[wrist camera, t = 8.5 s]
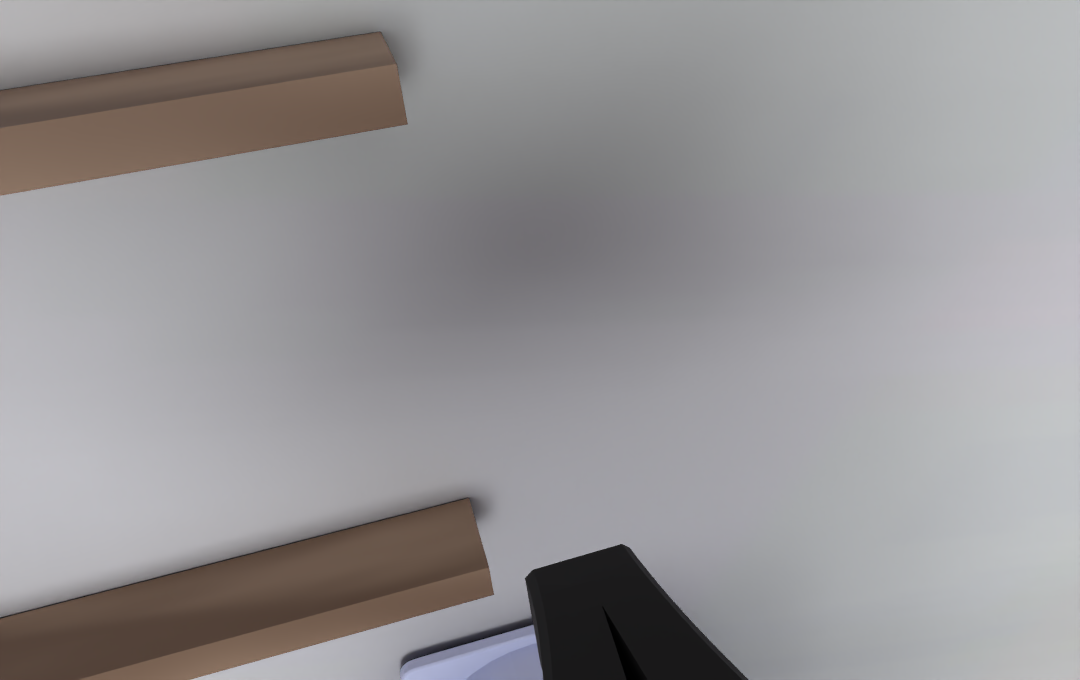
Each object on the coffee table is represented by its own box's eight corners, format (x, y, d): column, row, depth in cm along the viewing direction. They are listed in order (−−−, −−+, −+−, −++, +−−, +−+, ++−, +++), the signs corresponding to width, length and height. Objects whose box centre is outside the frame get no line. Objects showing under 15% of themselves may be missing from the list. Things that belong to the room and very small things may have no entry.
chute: (474, 524, 22) (493, 594, 20) (-223, 707, 20) (-281, 810, 18) (380, 31, 15) (396, 63, 13) (-740, 204, 12) (-940, 279, 10)
